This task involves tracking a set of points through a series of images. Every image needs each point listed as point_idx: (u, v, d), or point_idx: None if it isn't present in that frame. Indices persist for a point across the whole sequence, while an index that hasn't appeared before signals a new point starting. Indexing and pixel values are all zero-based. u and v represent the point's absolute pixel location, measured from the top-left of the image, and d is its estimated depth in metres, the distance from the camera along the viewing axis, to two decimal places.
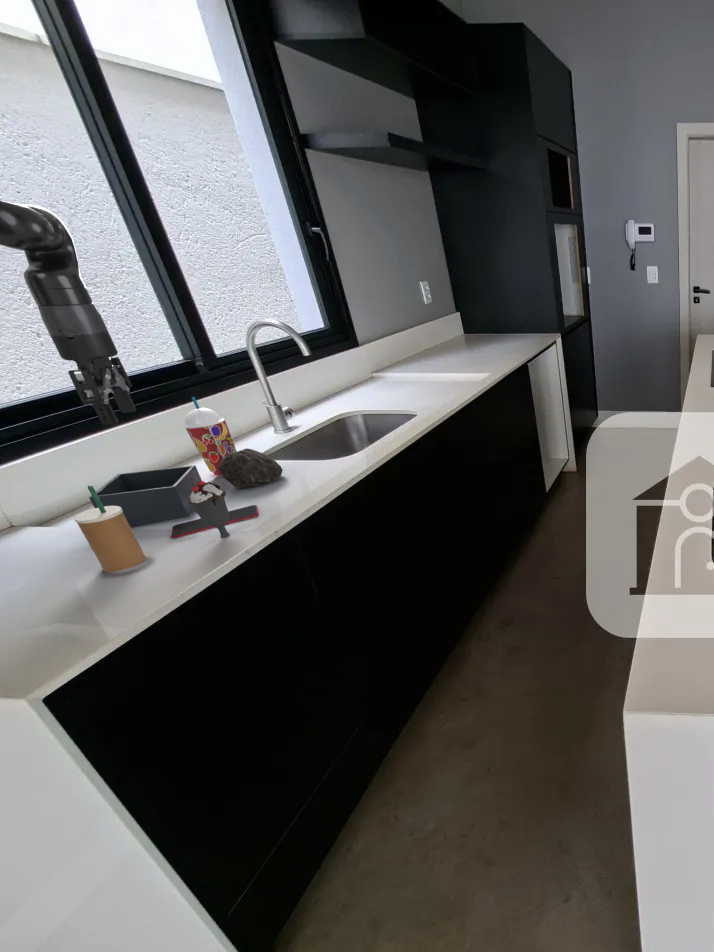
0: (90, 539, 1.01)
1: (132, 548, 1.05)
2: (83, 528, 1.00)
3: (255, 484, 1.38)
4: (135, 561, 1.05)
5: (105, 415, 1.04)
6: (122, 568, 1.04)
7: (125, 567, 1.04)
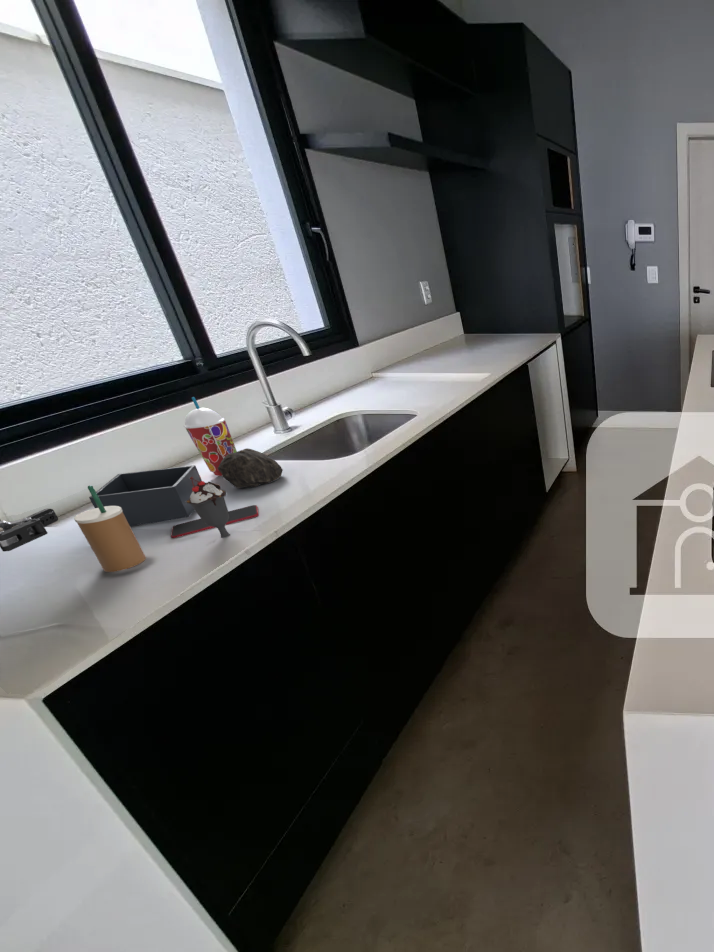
0: (90, 539, 1.01)
1: (132, 548, 1.05)
2: (83, 528, 1.00)
3: (255, 484, 1.38)
4: (135, 561, 1.05)
5: None
6: (122, 568, 1.04)
7: (125, 567, 1.04)
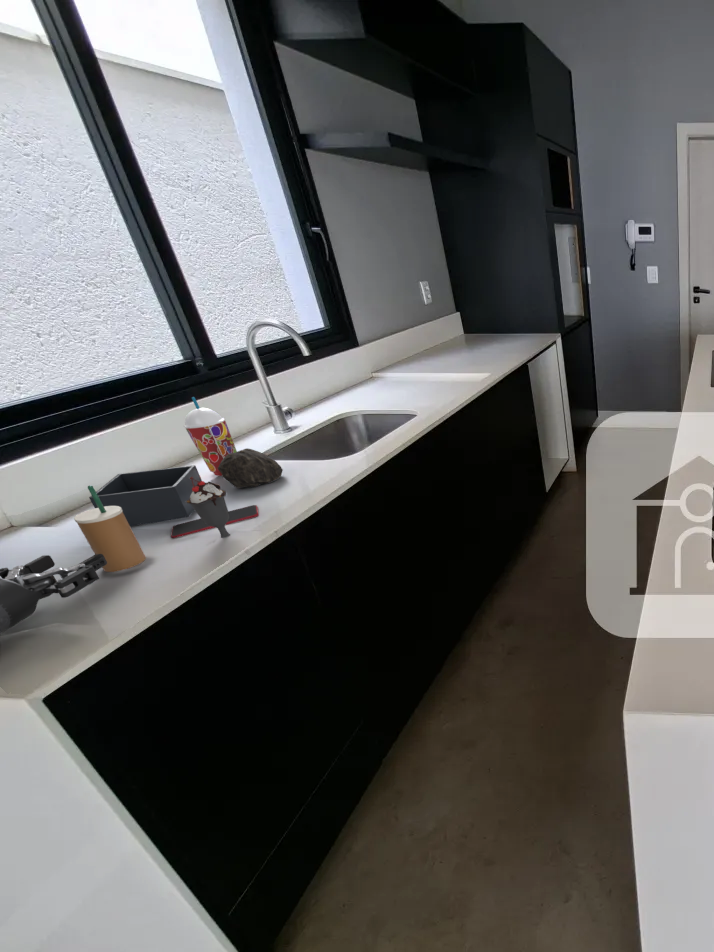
0: (90, 539, 1.01)
1: (132, 548, 1.05)
2: (83, 528, 1.00)
3: (255, 484, 1.38)
4: (135, 561, 1.05)
5: None
6: (122, 568, 1.04)
7: (125, 567, 1.04)
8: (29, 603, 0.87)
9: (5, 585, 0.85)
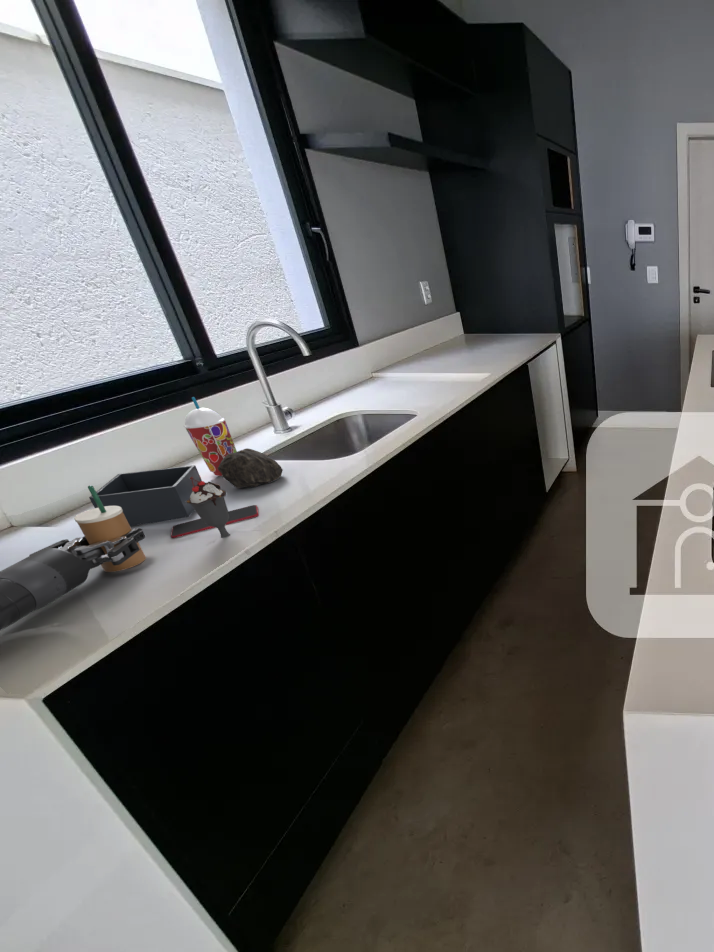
0: (90, 539, 1.01)
1: None
2: (83, 528, 1.00)
3: (255, 484, 1.38)
4: (135, 561, 1.05)
5: None
6: (122, 568, 1.04)
7: (125, 567, 1.04)
8: (82, 571, 0.95)
9: (61, 554, 0.93)
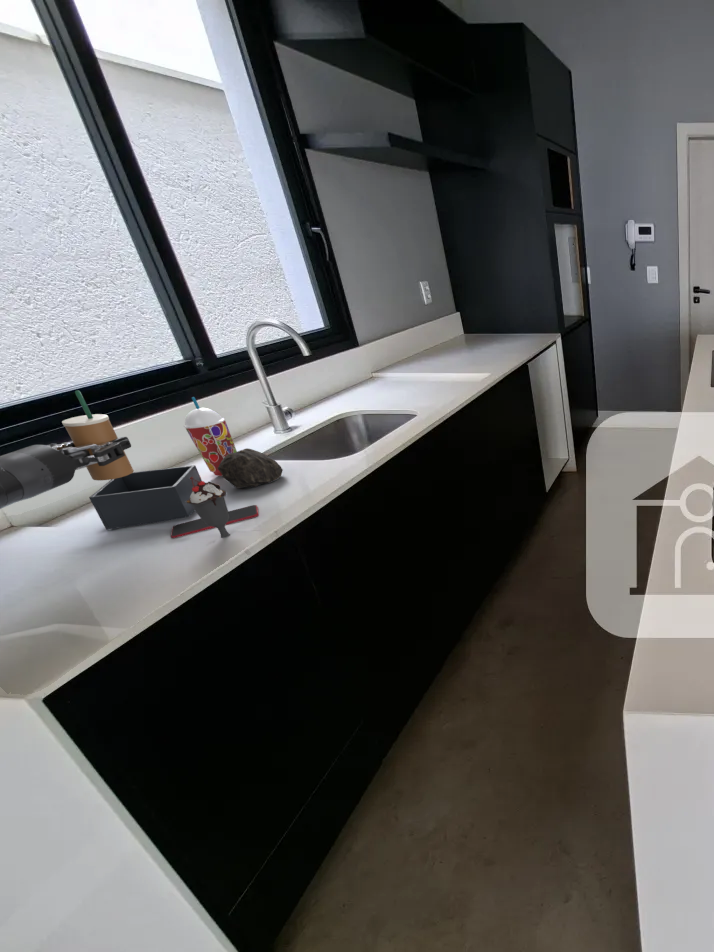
0: (77, 443, 1.05)
1: None
2: (70, 431, 1.04)
3: (255, 484, 1.38)
4: (121, 468, 1.10)
5: None
6: (108, 474, 1.08)
7: (111, 473, 1.09)
8: (69, 468, 0.99)
9: (48, 450, 0.97)
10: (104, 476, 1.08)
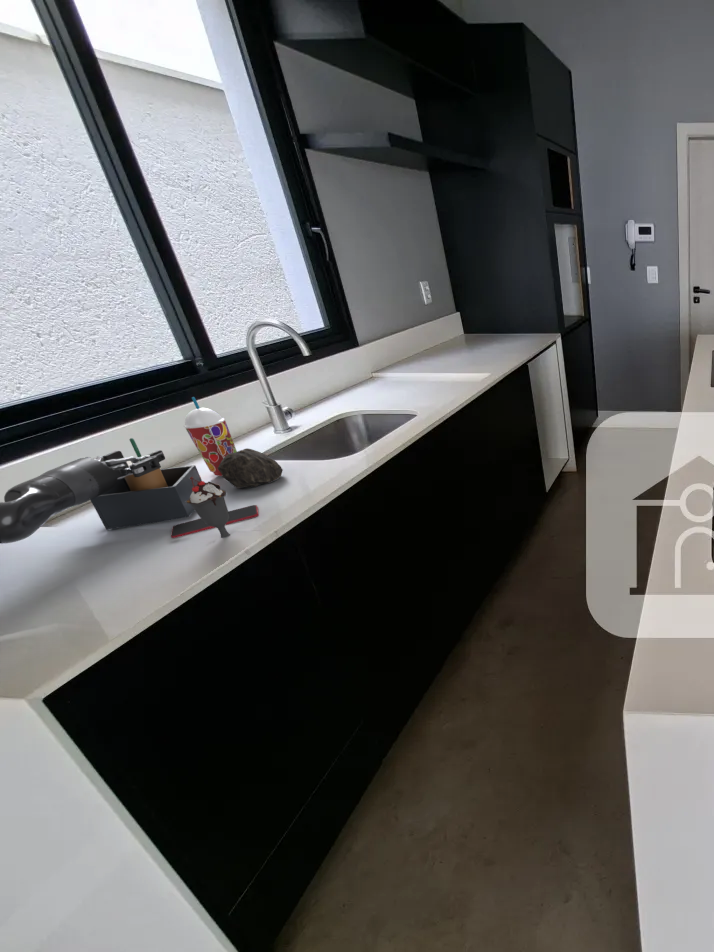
0: (131, 483, 1.22)
1: None
2: None
3: (255, 484, 1.38)
4: None
5: None
6: None
7: None
8: (111, 478, 1.13)
9: (94, 463, 1.11)
10: None
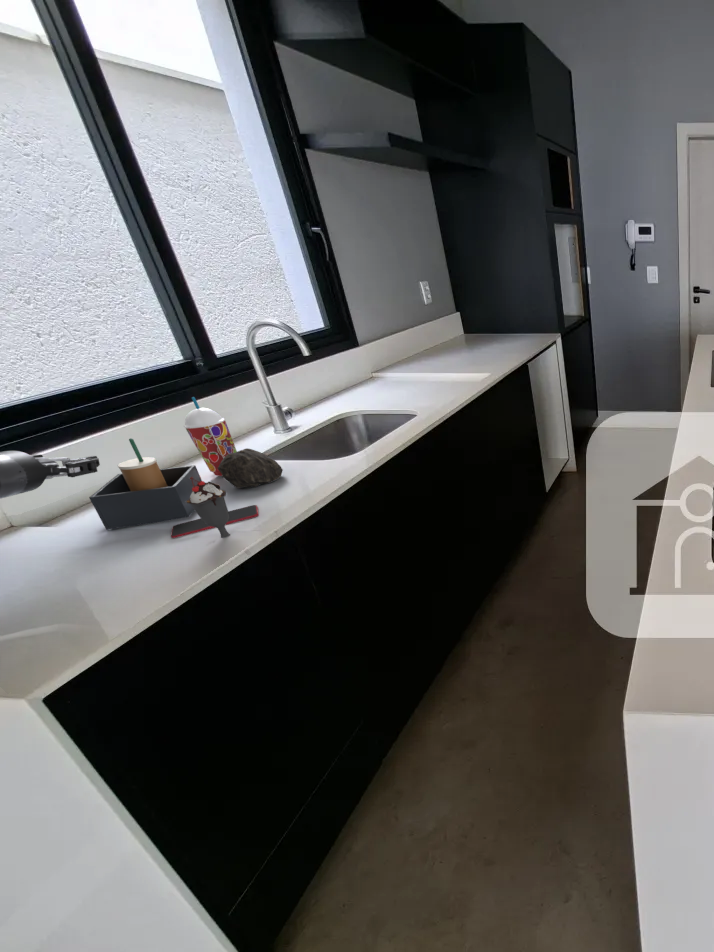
0: (130, 483, 1.22)
1: None
2: (125, 473, 1.21)
3: (255, 484, 1.38)
4: None
5: None
6: None
7: None
8: (41, 475, 1.01)
9: (25, 456, 0.99)
10: None
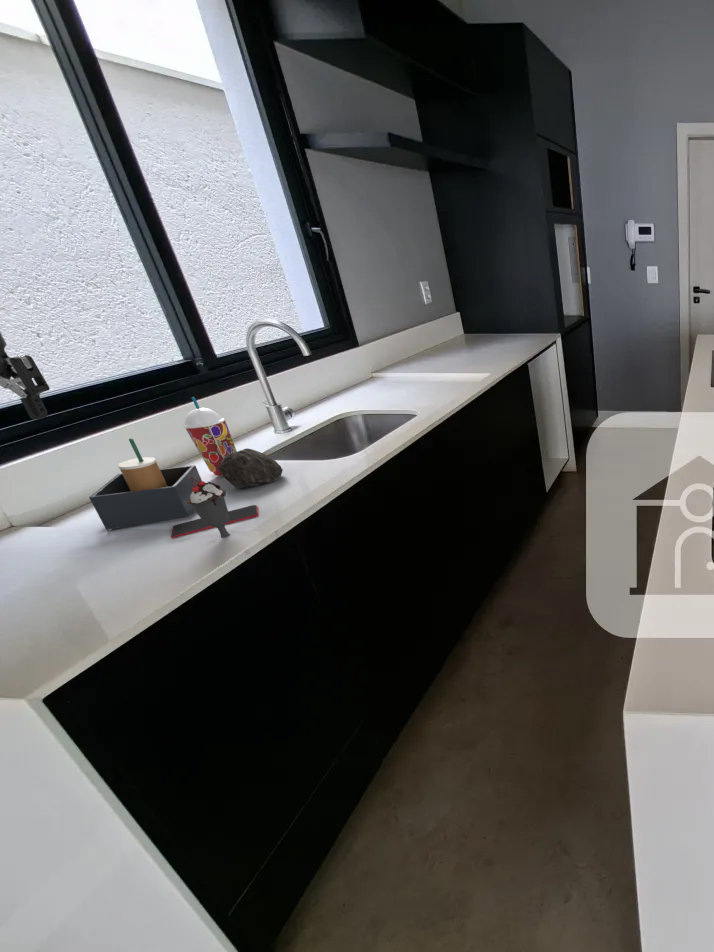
0: (130, 483, 1.22)
1: None
2: (125, 473, 1.21)
3: (255, 484, 1.38)
4: None
5: None
6: None
7: None
8: None
9: (2, 337, 0.93)
10: None
